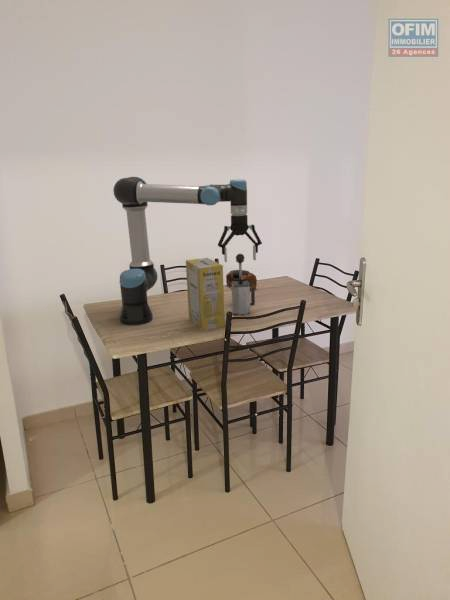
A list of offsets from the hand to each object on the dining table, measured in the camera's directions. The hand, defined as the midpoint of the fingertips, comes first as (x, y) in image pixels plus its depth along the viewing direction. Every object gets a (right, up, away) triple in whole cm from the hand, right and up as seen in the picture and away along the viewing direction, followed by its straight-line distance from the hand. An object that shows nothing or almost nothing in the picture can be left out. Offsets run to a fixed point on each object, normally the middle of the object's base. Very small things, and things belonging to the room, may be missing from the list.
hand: (240, 260), depth 217 cm
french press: (+1, -21, +21) cm, 30 cm away
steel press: (+2, -24, +8) cm, 26 cm away
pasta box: (-16, -29, -4) cm, 33 cm away
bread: (+2, -12, +51) cm, 52 cm away
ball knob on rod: (0, -11, +3) cm, 12 cm away
